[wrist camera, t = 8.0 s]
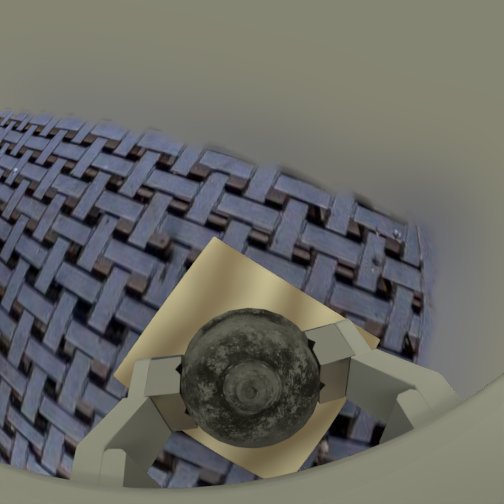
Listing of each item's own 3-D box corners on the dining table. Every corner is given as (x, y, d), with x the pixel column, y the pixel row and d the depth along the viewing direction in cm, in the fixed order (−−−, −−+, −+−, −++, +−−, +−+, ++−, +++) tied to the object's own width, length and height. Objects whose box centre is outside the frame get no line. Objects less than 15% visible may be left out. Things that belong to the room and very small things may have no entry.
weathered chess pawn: (209, 309, 16) (131, 183, 5) (313, 331, 16) (439, 246, 5) (185, 409, 14) (52, 480, 3) (291, 432, 14) (379, 550, 2)
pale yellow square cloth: (118, 375, 23) (112, 375, 22) (215, 241, 28) (214, 236, 27) (282, 482, 20) (283, 487, 19) (374, 340, 25) (379, 339, 24)
